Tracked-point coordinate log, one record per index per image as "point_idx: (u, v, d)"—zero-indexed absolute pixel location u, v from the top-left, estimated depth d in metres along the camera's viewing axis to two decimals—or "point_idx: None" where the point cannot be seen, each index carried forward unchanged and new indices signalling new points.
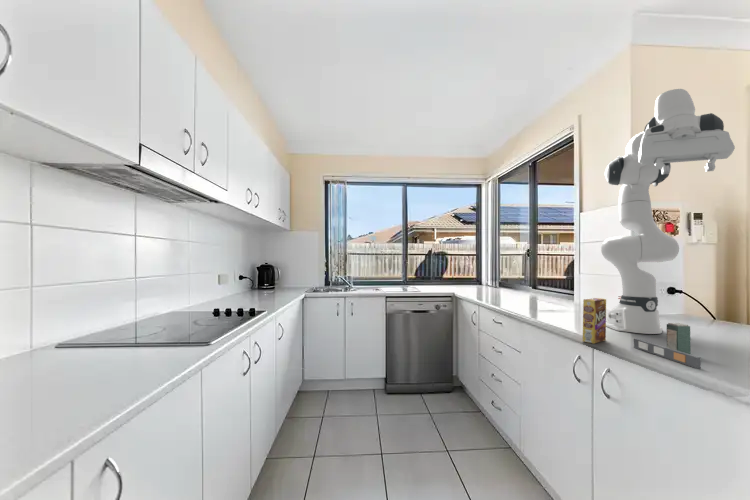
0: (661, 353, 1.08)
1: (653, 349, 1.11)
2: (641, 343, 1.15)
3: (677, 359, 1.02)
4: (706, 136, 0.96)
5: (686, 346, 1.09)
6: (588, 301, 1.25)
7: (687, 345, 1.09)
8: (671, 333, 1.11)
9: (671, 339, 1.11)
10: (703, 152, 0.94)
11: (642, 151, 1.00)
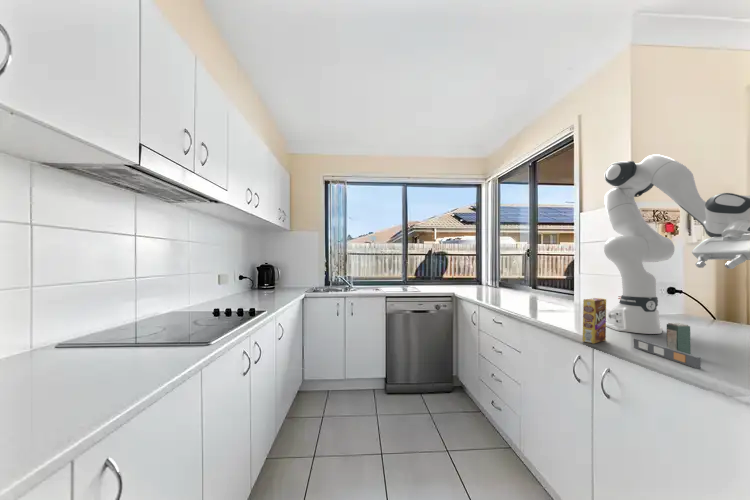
0: (661, 353, 1.08)
1: (653, 349, 1.11)
2: (641, 343, 1.15)
3: (677, 359, 1.02)
4: None
5: (686, 346, 1.09)
6: (588, 301, 1.25)
7: (687, 345, 1.09)
8: (671, 333, 1.11)
9: (671, 339, 1.11)
10: (715, 259, 1.15)
11: None
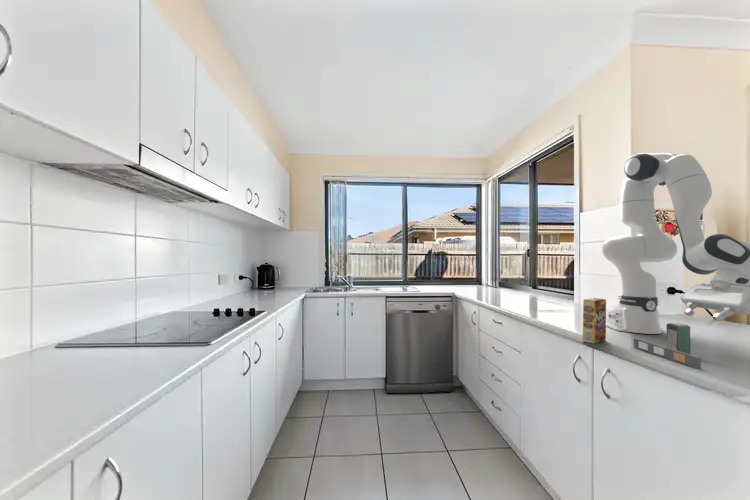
0: (661, 353, 1.08)
1: (653, 349, 1.11)
2: (641, 343, 1.15)
3: (677, 359, 1.02)
4: None
5: (686, 346, 1.09)
6: (588, 301, 1.25)
7: (687, 345, 1.09)
8: (671, 333, 1.11)
9: (671, 339, 1.11)
10: None
11: None
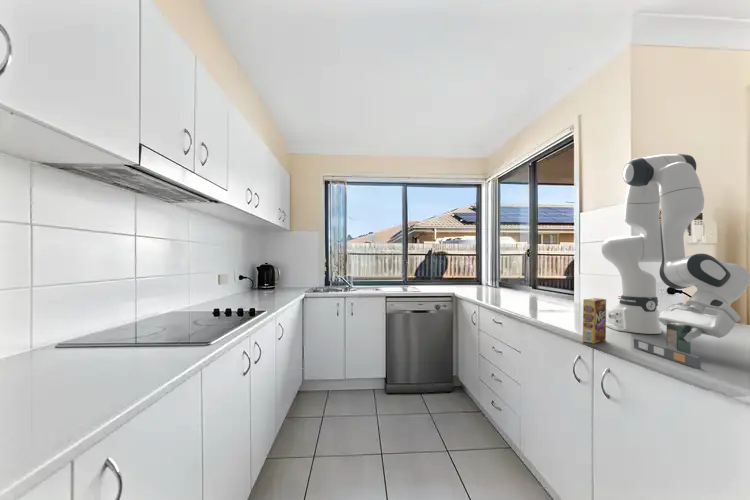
0: (661, 353, 1.08)
1: (653, 349, 1.11)
2: (641, 343, 1.15)
3: (677, 359, 1.02)
4: None
5: (686, 346, 1.09)
6: (588, 301, 1.25)
7: (687, 345, 1.09)
8: (671, 333, 1.11)
9: (671, 339, 1.11)
10: None
11: None
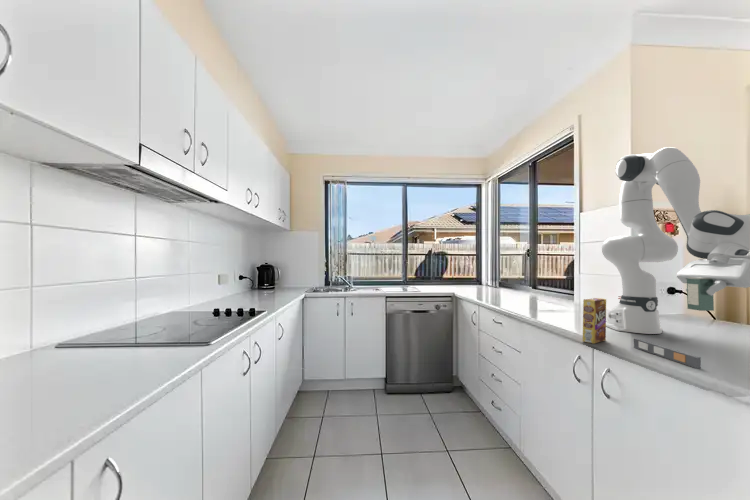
0: (661, 353, 1.08)
1: (653, 349, 1.11)
2: (641, 343, 1.15)
3: (677, 359, 1.02)
4: None
5: (709, 300, 1.01)
6: (588, 301, 1.25)
7: (710, 300, 1.01)
8: (692, 287, 1.03)
9: (693, 293, 1.03)
10: None
11: None
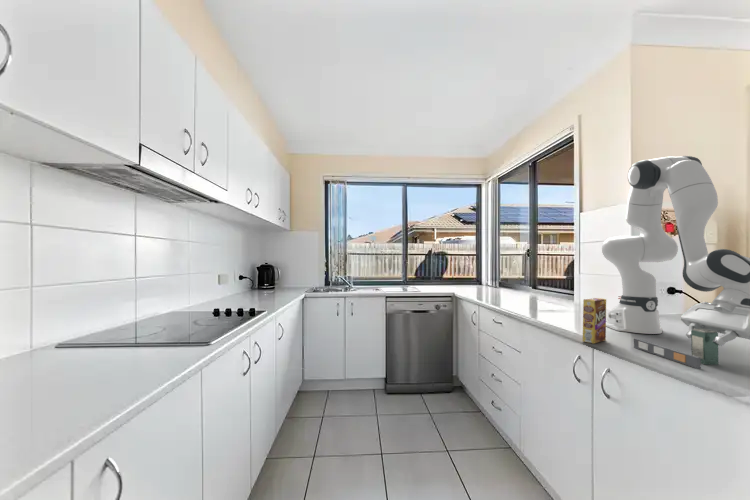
0: (661, 353, 1.08)
1: (653, 349, 1.11)
2: (641, 343, 1.15)
3: (677, 359, 1.02)
4: None
5: (714, 354, 1.00)
6: (588, 301, 1.25)
7: (715, 354, 1.00)
8: (697, 340, 1.02)
9: (697, 346, 1.02)
10: None
11: None
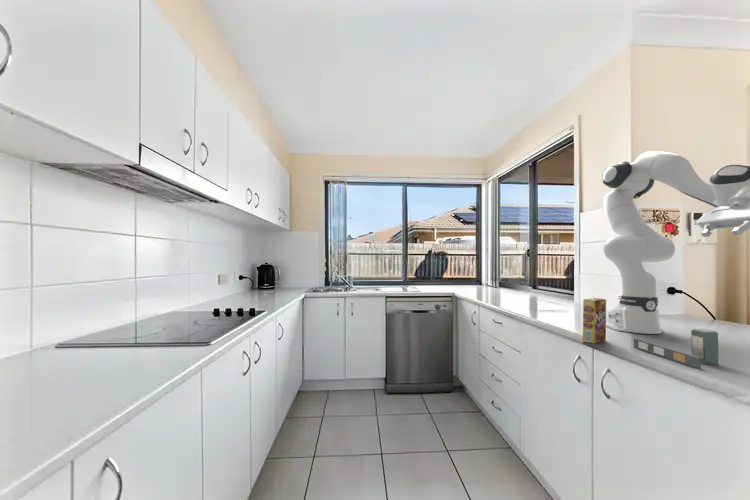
0: (661, 353, 1.08)
1: (653, 349, 1.11)
2: (641, 343, 1.15)
3: (677, 359, 1.02)
4: None
5: (714, 354, 1.00)
6: (588, 301, 1.25)
7: (715, 354, 1.00)
8: (697, 340, 1.02)
9: (697, 346, 1.02)
10: None
11: None
